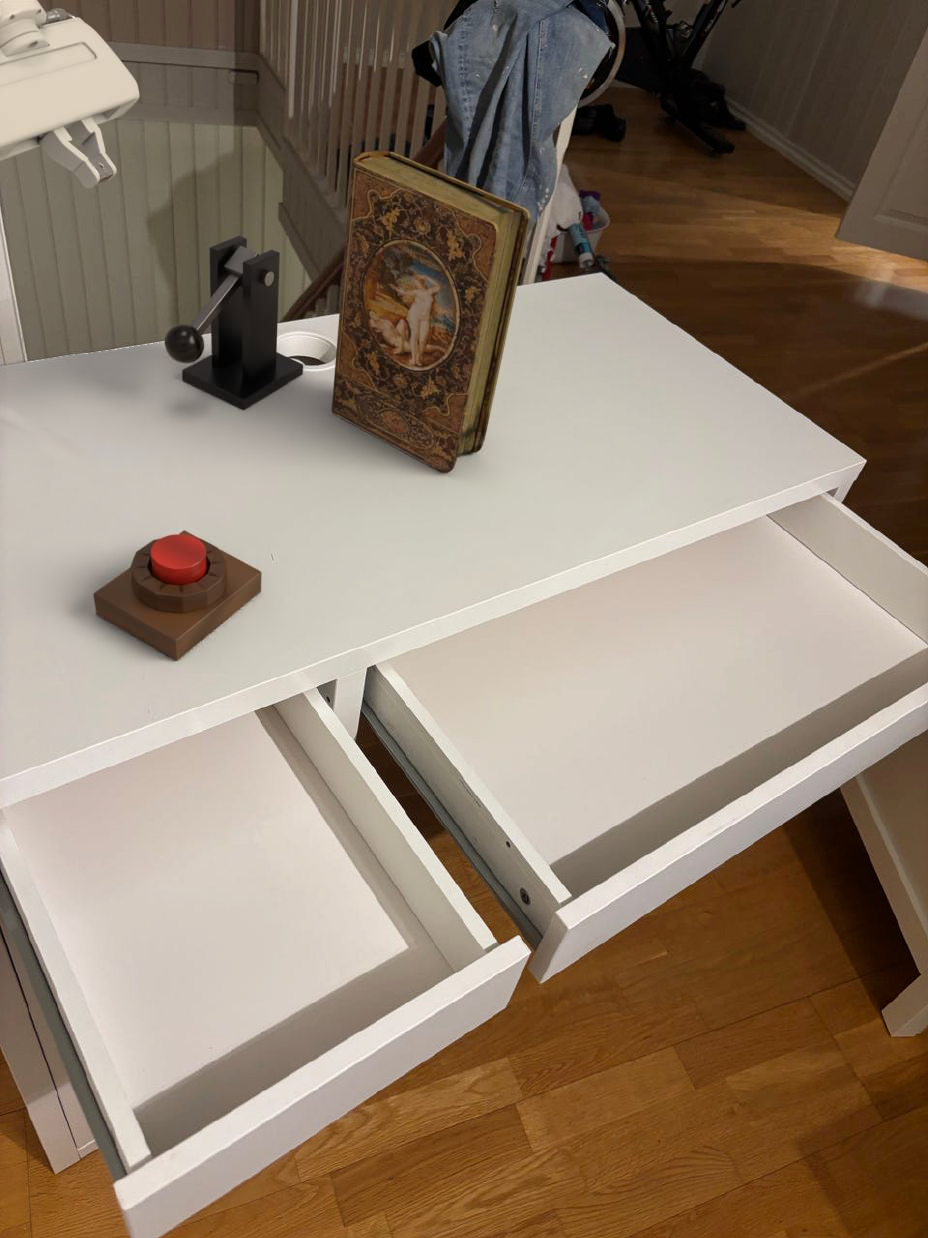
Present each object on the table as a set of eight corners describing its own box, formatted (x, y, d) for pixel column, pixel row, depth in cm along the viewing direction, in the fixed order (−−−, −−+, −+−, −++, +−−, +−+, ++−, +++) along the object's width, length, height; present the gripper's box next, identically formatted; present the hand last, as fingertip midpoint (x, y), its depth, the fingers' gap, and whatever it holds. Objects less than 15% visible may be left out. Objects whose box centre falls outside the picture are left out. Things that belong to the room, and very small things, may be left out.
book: (323, 408, 98) (341, 157, 81) (356, 390, 102) (380, 146, 85) (451, 478, 93) (499, 226, 76) (481, 456, 97) (534, 211, 80)
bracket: (243, 410, 96) (244, 280, 86) (182, 380, 98) (176, 249, 88) (303, 373, 102) (309, 249, 93) (244, 346, 104) (245, 222, 95)
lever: (195, 376, 90) (181, 352, 86) (165, 362, 91) (150, 338, 87) (272, 277, 93) (262, 250, 90) (243, 264, 94) (232, 237, 91)
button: (181, 593, 70) (180, 575, 69) (140, 570, 72) (138, 552, 70) (217, 566, 73) (217, 548, 72) (177, 544, 74) (176, 526, 73)
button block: (176, 661, 70) (174, 623, 68) (95, 614, 72) (90, 575, 70) (261, 591, 77) (262, 554, 75) (185, 549, 79) (183, 512, 77)
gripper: (52, 27, 86) (152, 168, 91) (-126, 69, 72) (5, 235, 77) (89, -18, 83) (190, 132, 88) (-91, 17, 68) (44, 195, 73)
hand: (103, 181), depth 82 cm, fingers closed
